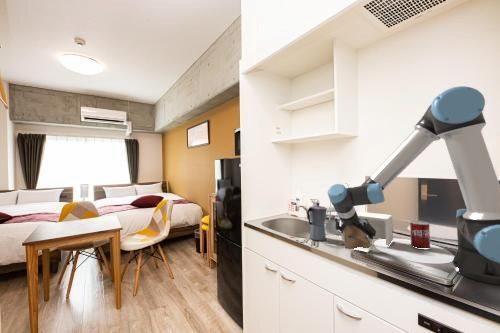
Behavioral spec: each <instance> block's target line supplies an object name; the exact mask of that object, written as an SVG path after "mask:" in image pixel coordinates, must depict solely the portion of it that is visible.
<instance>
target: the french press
mask: <svg viewBox="0 0 500 333" xmlns="http://www.w3.org/2000/svg"><path fill="white" fill-rule="evenodd" d="M329 203H330V204H329V207H328V206H327V207H326V208H327V211H326V219H325V224H324V228H325V235H330V236H335V235H336V236H337V235H340V234H341V231H340V230H339V229H338V230H336V222H335V220H334V219H335V216H336V215H335V214H334V215H333V214H329V213H337V212H336V210H335V208H334V206H333V207H332V206H331V204H332V203H331V201H330V200H329Z"/></svg>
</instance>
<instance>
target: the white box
mask: <svg viewBox="0 0 500 333" xmlns="http://www.w3.org/2000/svg"><path fill="white" fill-rule="evenodd" d="M356 213H357V215H358V218H359V219H360V220H364V219H367V221H368V223H369V224H370V225H371V226H372V227H373V228H374V229H375V230H376V234H375V236H373V239H378V238H381V239H386V245H388V246H389V244H390V243H391V241H392V240H393V241H394V236H393V235H394V234H393V233H394V232H393V230H394V229H393V215H392V214H386V213H377V212H365V211H359V210H358V211H357V210H356ZM342 224H343V222H342V221H341V220H340V226H341V225H342ZM340 234H341V240H344V241H345V235H344V234H342V232H341V231H340ZM373 239H372V240H373Z"/></svg>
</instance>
